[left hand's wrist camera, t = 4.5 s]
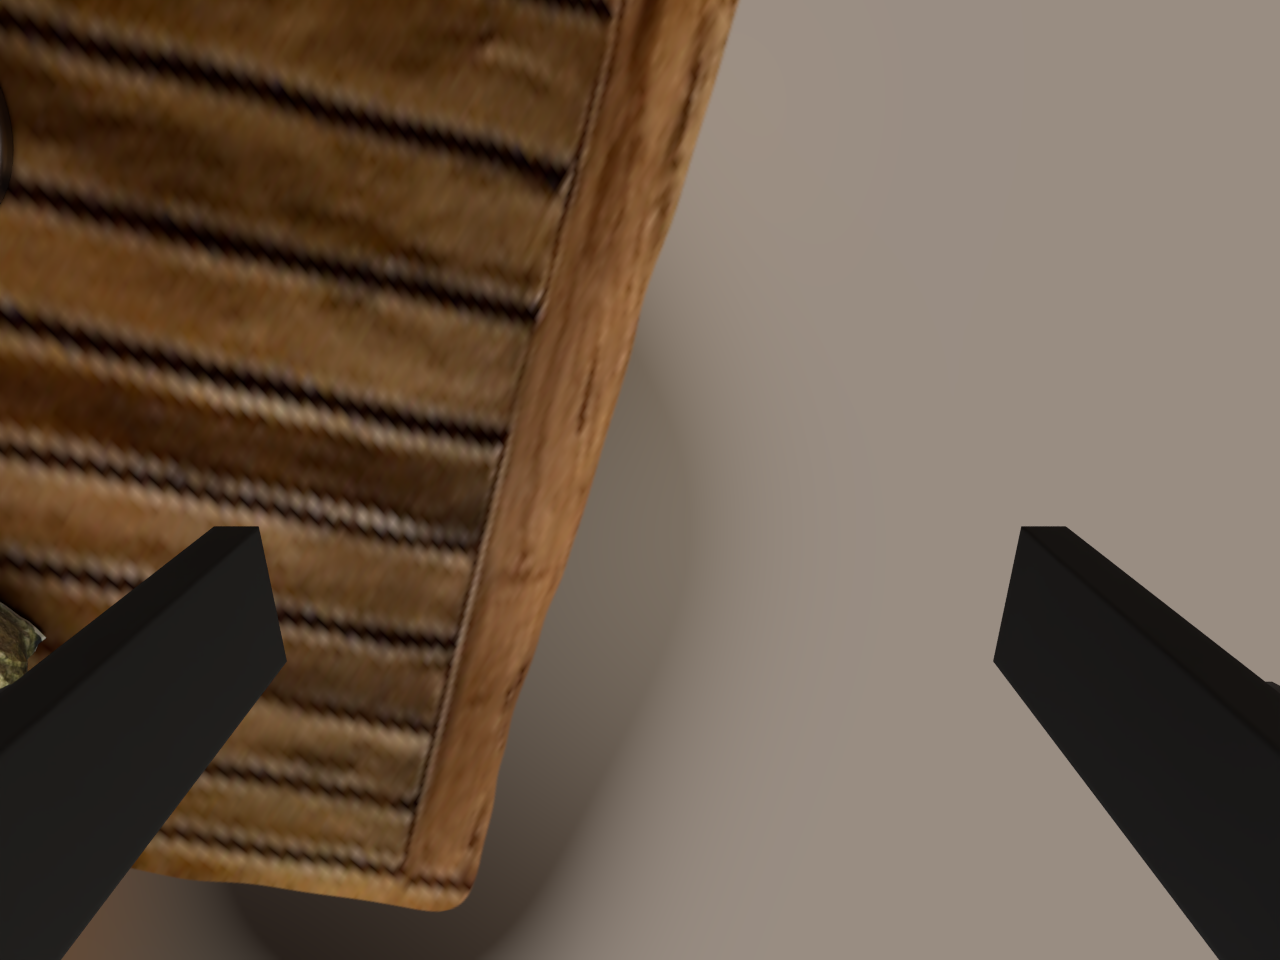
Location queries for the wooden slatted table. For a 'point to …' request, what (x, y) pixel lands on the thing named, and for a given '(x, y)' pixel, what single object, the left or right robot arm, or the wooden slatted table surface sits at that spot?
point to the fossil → (15, 645)
